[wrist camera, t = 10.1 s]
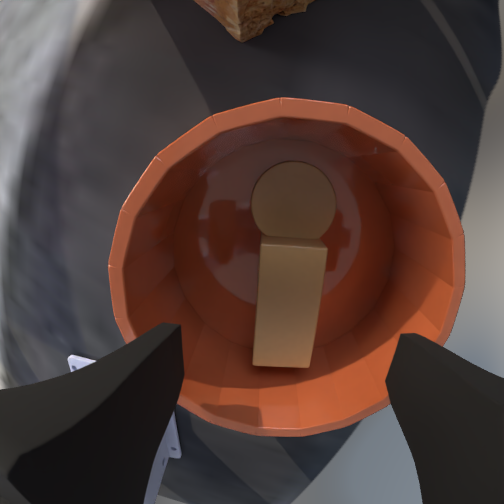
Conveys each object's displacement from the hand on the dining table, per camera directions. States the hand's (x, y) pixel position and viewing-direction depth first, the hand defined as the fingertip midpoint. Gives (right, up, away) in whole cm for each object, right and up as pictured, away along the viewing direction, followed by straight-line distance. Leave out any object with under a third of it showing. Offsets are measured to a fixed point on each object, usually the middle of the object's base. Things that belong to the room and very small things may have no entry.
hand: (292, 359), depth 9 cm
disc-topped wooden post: (0, +3, +5) cm, 6 cm away
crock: (0, +3, +6) cm, 7 cm away
